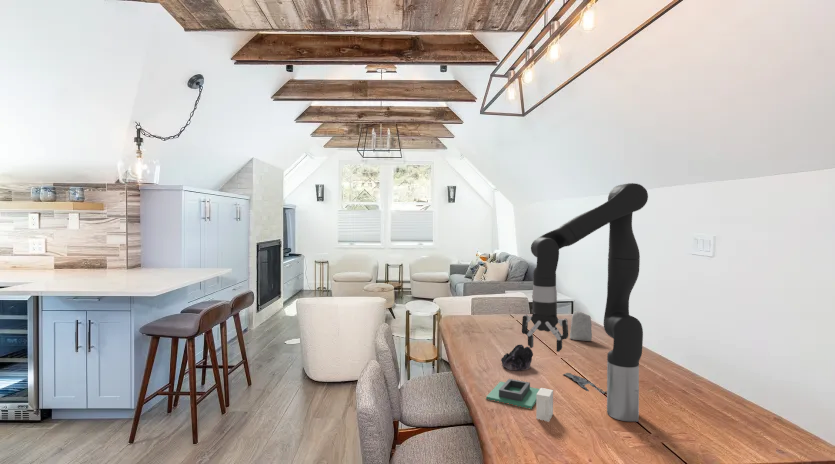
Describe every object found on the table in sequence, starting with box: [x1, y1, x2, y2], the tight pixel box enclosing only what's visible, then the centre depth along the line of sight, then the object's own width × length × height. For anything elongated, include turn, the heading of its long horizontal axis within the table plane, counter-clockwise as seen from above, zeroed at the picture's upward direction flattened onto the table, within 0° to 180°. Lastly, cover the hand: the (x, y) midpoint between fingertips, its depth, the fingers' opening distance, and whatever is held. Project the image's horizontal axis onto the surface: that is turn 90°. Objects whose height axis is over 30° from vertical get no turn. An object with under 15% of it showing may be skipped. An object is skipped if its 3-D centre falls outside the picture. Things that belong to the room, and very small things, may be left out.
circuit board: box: [485, 378, 540, 410], centre depth 149 cm, size 16×16×4 cm
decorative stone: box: [569, 310, 593, 342], centre depth 219 cm, size 11×6×15 cm, turn 58°
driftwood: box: [562, 372, 607, 395], centre depth 160 cm, size 21×7×2 cm, turn 10°
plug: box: [535, 387, 554, 423], centre depth 132 cm, size 4×7×8 cm, turn 151°
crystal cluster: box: [500, 344, 534, 371], centre depth 180 cm, size 13×14×10 cm
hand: (544, 349), depth 133 cm, fingers open, 8 cm apart
